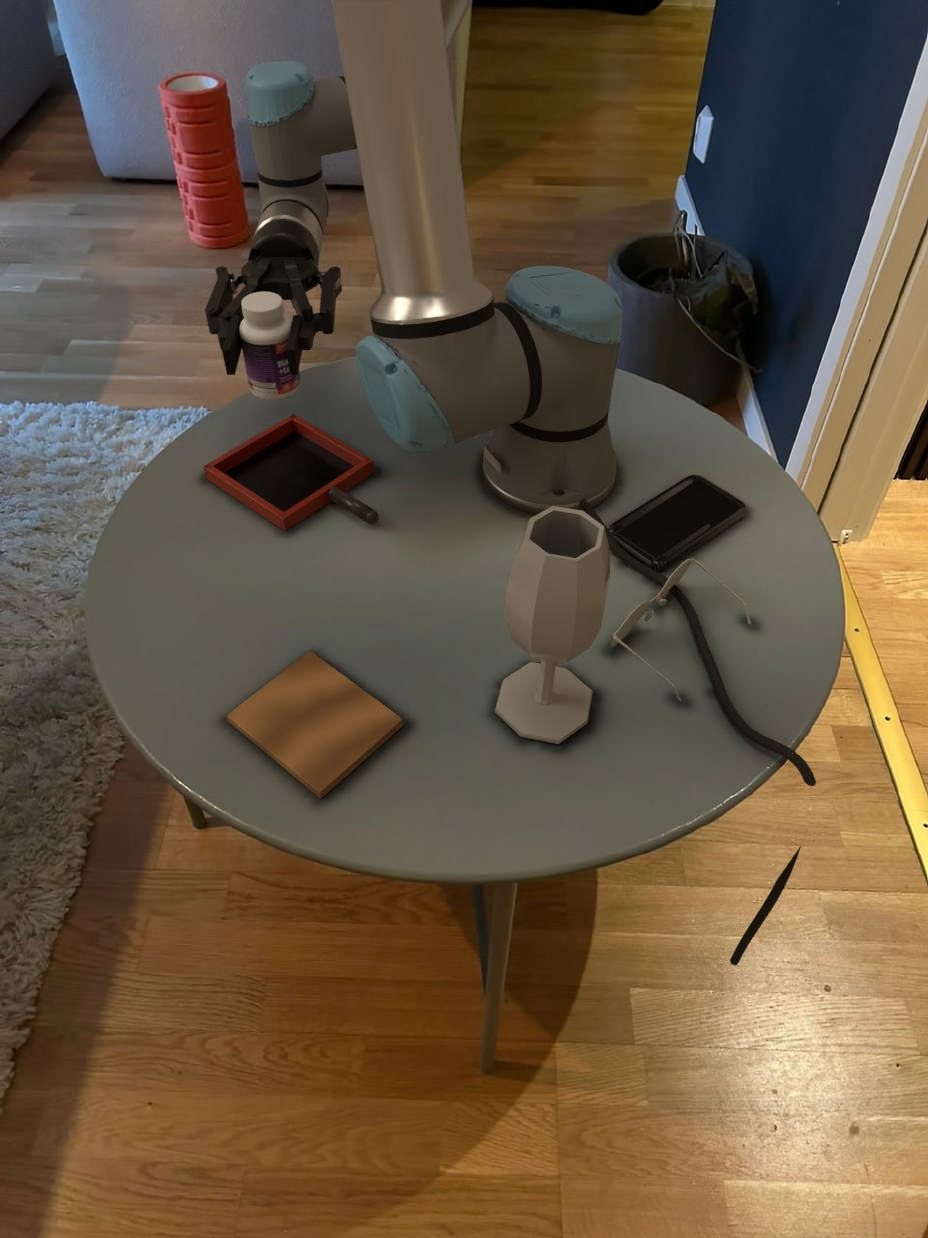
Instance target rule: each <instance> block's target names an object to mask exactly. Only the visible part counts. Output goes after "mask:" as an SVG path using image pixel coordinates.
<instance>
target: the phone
mask: <svg viewBox="0 0 928 1238" xmlns="http://www.w3.org/2000/svg"><path fill="white" fill-rule="evenodd" d="M745 510H746V503H745V502H744V501H743V500H741V499H739V498H738V497H736V496H735V495H733V494H732V493H729V491H726V490H725V489H724V488H721V487H720V486H718V485H717V484H715V483H714V482H712V481H710V480H708V478H705V477H703V476H702V475H699V474H690V475H688V476H686V477H685V478H683V479H681V480H680V481H678V482H676V483H675V484H673V485H672V486H670V487H669V488H667V489H665V490H664V491H662V492H660V493H659V494H657V495H656V496H654V497H652V498H650V499H649V500H647V501H646V502H644V503H643V504H641V505H639V506H637V507H636V508H635V509H633V510H631V511H629V513H627V514H625V515H623V516H622V517H619V519H617V520H615V521H613V522H612V523H611V524H610V525H609V526H608V528H607V529H608V530H609V532H610V534H611V535H612V536H613V538H614V539H615V541H616V542H617V543H618V545H619V546H620V547H621V548H622V549H623V550H624V551H626V552H627V553H628V554H629V555H630V556H632V557H633V558H635V559H636V560H638V561H639V562H641V563H643V564H644V565H646V566H648V567H650V568H651V569H653V570H655V571H657V572H658V573H661V572H664V571H666V570H667V569H669V568H671V566H673V565H675V564H676V563H678V562H679V561H680V560H682V559H684V558H685V557H687V556H688V555H689V554H691V553H692V552H694V551H695V550H697V549H699V548H700V547H701V546H702V545H705V543H707V542H708V541H710V540H711V539H713V538H714V537H716V536H717V535H718V534H720V533H722V532H723V531H725V530H726V529H728V528H729V527H730V526H731V525H733V524H735V523H736V522H738V521H739V520H741V519H742V518H743V516H744V513H745Z"/></svg>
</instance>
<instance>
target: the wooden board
mask: <svg viewBox="0 0 928 1238" xmlns="http://www.w3.org/2000/svg"><path fill="white" fill-rule="evenodd" d="M226 718H227V722H228V723H229V724H230V725H232V726H233V727H234V728H235V729H236V730H238V732H239V733H241V734H242V735H244V736H245V737H246V738H247V739H249V741H251V743H253V744H254V745H256V747H258V748H259V749H261V751H263V752H264V753H265V754H267V755H268V756H269V757H270V758H271V759H273V760H274V761H275V762H276V763H277V764H278V765H279V766H281V767H282V768H283V769H284V770H285V771H287V773H289V774H290V775H292V776H293V777H294V778H295V779H296V780H298V782H299V783H301V784H302V785H304V787H306V788H307V789H308V790H309V791H310V792H312V793H313V794H314V795H315V796H316V797H317V798H319V799H323V798H324V797H325V796H326V795H327V794H328V793H329V792H331V790H332V789H334V788H335V787H336V786H337V785H338V784H340V782H342V781H343V780H344V779H345V778H346V777H348V775H350V774H351V773H352V772H353V771H354V770H355V769H356V768H357V767H358V766H360V765H361V764H362V763H363V762H364V761H365V760H366V759H368V758H369V757H370V756H371V755H372V754H373V753H374V752H375V751H376V750H378V749H379V748H380V747H381V746H382V745H383V744H384V743H385V742H387V741H388V740H389V739H391V737H392V736H393V735H395V734H396V732H398V731H399V730H400V729H401V728H402V727H403V726H404V719H403V718H402V717H401V716H400V715H398V714H397V713H395V712H394V711H393V710H392V709H390V708H389V707H387V706H386V705H385V704H383V703H382V702H381V701H379V700H378V699H377V698H375V696H372V695H371V694H370V693H368V692H367V691H366V690H365V689H363V688H361V687H360V686H359V685H358V684H356V683H355V682H353V681H352V680H350V679H349V678H348V677H347V676H345V675H344V674H343V673H341V672H340V671H338V670H337V669H336V668H335V667H333V666H332V665H330V664H329V663H328V662H326V661H325V660H323V659H322V658H321V657H319V656H318V655H317V654H315V653H314V652H313V651H312V650H310V651H308V652H307V653H306V654H304V655H303V656H302V657H300V658H299V659H298V660H296V661H295V662H294V663H293V664H291V665H290V666H288V667H287V668H286V669H285V670H284V671H282V672H281V673H279V674H278V675H277V676H276V677H274V678H273V679H272V680H271V681H269V682H268V683H266V684H265V685H264V686H263V687H261V688H260V689H259V690H257V691H256V692H255V693H254V694H252V695H251V696H250V697H248V698H247V699H246V700H244V701H243V702H241V704H239V705H238V706H237V707H235V708H234V709H233V710H231V711H230V712H229V713H227V714H226Z"/></svg>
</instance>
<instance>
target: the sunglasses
mask: <svg viewBox="0 0 928 1238" xmlns="http://www.w3.org/2000/svg"><path fill="white" fill-rule="evenodd" d="M692 562H694V563H695V564H696V565H698V566H699V567H700V568H702V570H704V571H705V572H706V573H708V574H709V575H710V576H711V577H712V578H713V579H715V580H716V581H717V582H719V583H720V584H721V585H722V586H723V587H724V588H725V589H727V590H728V591H729V592H731V593H732V595H733V596H735V597H736V598H737V599H738V600H739V601H740V602H741V603H742V604H743V606H744V607H745V611H746V617H747V624H748V625H752V622H751V617H750V616H751V615H750V612H749V608H748V605H747V603H746V602H745V601H744V599H742V598H741V597H740V596H739V595H737V593H735V592H734V591H732V590H731V589H730V588H729V587H728V586H726V585H725V584H724V583H723V582H722V581H721V580H720V579H719V578H717V577H716V576H715V575H714V574H713V573H712V572H710V570H709V569H707V568H706V567H705V566H704V565H702V564H701V562H699V561H698V560H697V559H695V558H693V557H691V558H688V559H685V560H684V561H683V562H682V563H681V564H680V565H679V566H677V568H676V569H675V570H674V571H673V572H672V573H671V575H669V577H668V578H667V579H668V580H667V582H666V583H665V585H664V587H663V586H662V588H661V590H659V592H658V593H657V594H656V595H655V596H654V597H652V599H650V600H643V601H642V602H641V603H640V604H638V605H637V606H636V607H635V608H634V609H632V610H631V612H630V613H629V614H628V615H627V617H626V618H625V619H624V621H623V622H622V624H621V625H620V626H619V628H618V629H617V630H616V631H615V632H614V633H613V635H612V637H613V639H612V641H611V647H612V648H613V647H615V646H617V645H618V644H620V645H621V646H623V647H624V648H626V649H627V650H628V651H629V652H631V653H632V654H633V655H634V656H635V657H637V658H638V659H639V660H641V661H642V662H643V663H645V664H646V665H648V667H650V668H651V669H652V670H653V671H655V672H656V673H657V674H658V675H659V676H660V677H661V678H662V679H663V680H665V681H666V682H668V683H669V684H670V686H672V688H673V689H674V692H675V695H676V697H677V699H678V701H680V702H682V699H681V698H680V697H681V696H679V692H678V690H677V688H676V686H675V685H674V684H673V683H672V681H670V679H668V678H667V677H666V676H664V675H663V674H662V673H661V672H660V671H658V670H656V669H655V668H654V667H653V666H652V665H651V664H650V663H648V662H647V661H646V660H644V658H642V657H641V656H640V655H639V654H637V653H636V652H635V651H634V650H633V649H632V648H630V647H629V646H628V645H627V644H626V643H625V642H624V641H622V640H623V639H624V638H625V637H626V636H627V635H628V634H629V632H631V630H632V629H633V628H634V627H635V626H636V624H637V623H638V622H639V621H640V619H641V618H642V617H643V616H644V615H645V614H646V615H645V617H644V619H643V620H644V622H649V621H650V619H651V618H652V617H653V615H654V609H652V608H651V609H650V610H649V609H648V608H649V607H650V605H651V603H652V602H653V601H654V600H655V603H657V604H658V606H665V605H666V604H667V599H665V598H666V597H667V596H668V595H669V594H671V593H670V592H669V590H670V589H671V587H672V586H673V585H676V586H677V585H678V583H679V582H681V579H682V578H683V576H684V575H685V573H686V572H687V570H688V569H689V567H690V565H691V564H692Z"/></svg>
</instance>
